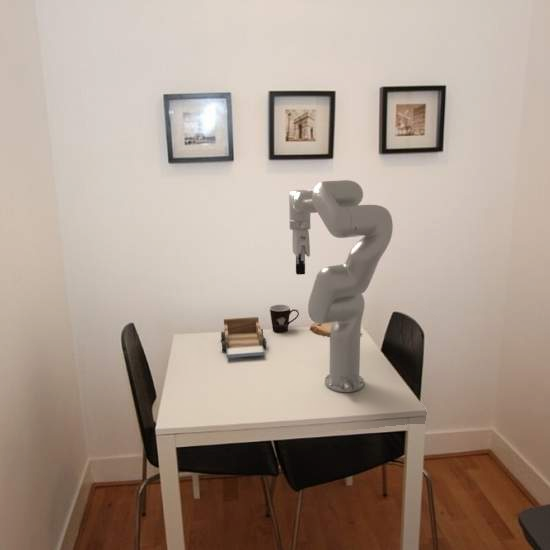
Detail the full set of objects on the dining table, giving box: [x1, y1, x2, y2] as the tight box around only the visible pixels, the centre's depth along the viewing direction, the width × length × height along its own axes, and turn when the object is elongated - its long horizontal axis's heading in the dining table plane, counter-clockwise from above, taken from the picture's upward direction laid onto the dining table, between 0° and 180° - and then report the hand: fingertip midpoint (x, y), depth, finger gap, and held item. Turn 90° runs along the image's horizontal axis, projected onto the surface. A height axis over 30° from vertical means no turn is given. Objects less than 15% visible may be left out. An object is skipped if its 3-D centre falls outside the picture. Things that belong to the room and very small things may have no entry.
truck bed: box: [220, 316, 267, 354], centre depth 185 cm, size 16×17×8 cm
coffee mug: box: [269, 304, 300, 334], centre depth 198 cm, size 12×9×10 cm
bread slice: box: [309, 322, 362, 338], centre depth 196 cm, size 18×18×4 cm
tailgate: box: [226, 346, 266, 359], centre depth 174 cm, size 1×14×6 cm
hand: (300, 273), depth 175 cm, fingers closed
